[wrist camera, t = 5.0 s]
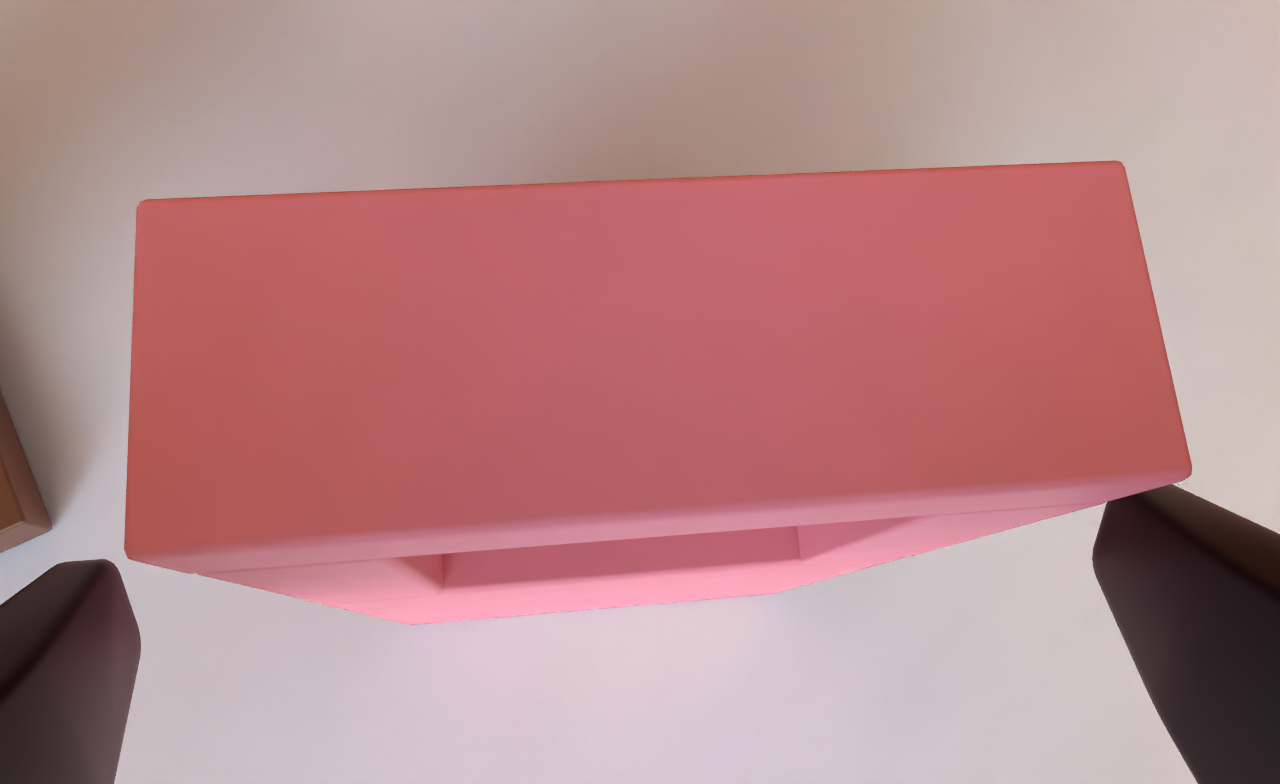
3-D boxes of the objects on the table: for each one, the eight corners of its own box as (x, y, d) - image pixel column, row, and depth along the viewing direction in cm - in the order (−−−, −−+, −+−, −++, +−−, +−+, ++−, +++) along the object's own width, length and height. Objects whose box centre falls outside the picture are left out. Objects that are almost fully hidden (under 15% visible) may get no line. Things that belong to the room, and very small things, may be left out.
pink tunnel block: (776, 593, 18) (1199, 479, 6) (406, 625, 17) (117, 560, 6) (761, 470, 18) (1127, 155, 7) (403, 497, 18) (131, 194, 6)
